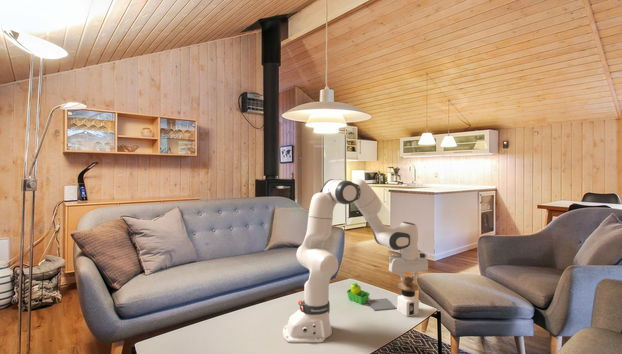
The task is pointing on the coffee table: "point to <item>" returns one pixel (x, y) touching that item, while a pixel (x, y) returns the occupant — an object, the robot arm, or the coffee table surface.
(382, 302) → the mat
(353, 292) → the fruit basket
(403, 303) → the container
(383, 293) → the coffee table surface
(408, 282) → the lid
